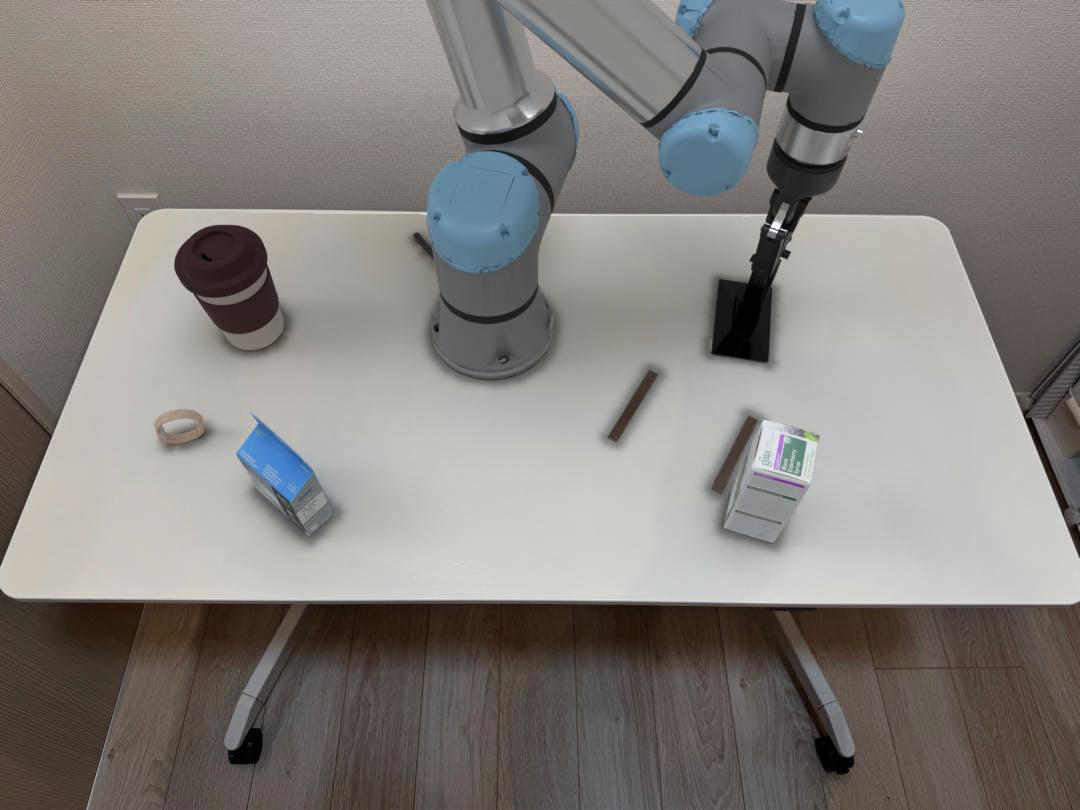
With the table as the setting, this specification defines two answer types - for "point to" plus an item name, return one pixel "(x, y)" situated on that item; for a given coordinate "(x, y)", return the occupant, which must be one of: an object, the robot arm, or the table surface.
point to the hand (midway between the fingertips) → (756, 294)
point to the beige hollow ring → (171, 415)
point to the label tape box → (284, 478)
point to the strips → (731, 457)
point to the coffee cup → (232, 283)
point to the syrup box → (771, 480)
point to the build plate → (741, 322)
